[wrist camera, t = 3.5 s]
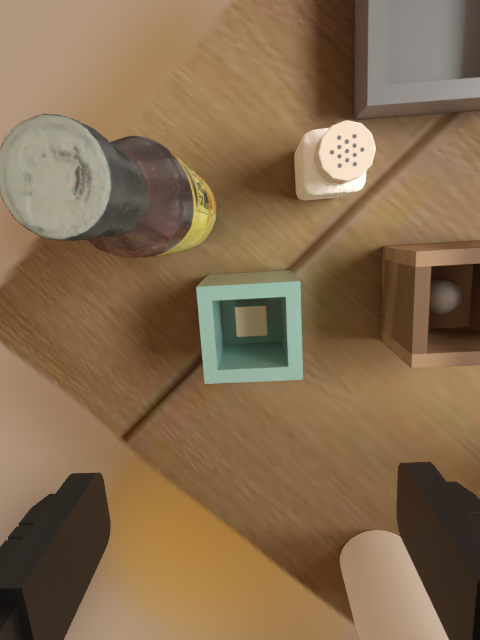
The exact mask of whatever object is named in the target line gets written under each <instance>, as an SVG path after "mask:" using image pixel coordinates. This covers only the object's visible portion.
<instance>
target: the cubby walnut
mask: <svg viewBox="0 0 480 640" xmlns="http://www.w3.org/2000/svg"><path fill="white" fill-rule="evenodd" d="M380 340H381V341H382V342H383V343H384V344H385V345H386V346H388V347H389V348H390V349H391V350H392V351H393V352H394V353H395V354H396V355H397V356H399V357H400V358H401V359H402V360H403V361H404V362H405V363H406V364H407V365H409V366H410V367H411V368H425V367H448V366H470V365H480V240H479V241H462V242H446V243H429V244H412V245H396V246H382V275H381V323H380Z"/></svg>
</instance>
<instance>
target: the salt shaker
mask: <svg viewBox="0 0 480 640" xmlns="http://www.w3.org/2000/svg"><path fill="white" fill-rule="evenodd" d="M375 150H376V147H375V144H374V140H373V136H372V133H371V132H370V131H369V130H368V129H367V128H366V127H365V126H364V125H363V124H362V123H359V122H354V121H348V120H345V121H342V122H340V123H337V124H335V125H332V126H331V127H330V128H323V129H316V130H311V131H309V132H307V133H306V134H304V136H303V138H302V140H301V142H300V143H299V145H298V147H297V149H296V152H295V155H294V163H295V185H296V195H297V197H298V199H300V200H303V201H305V200H317V199H329V198H340V197H343V196H346V195H349V194H352V193H355V192H357V191H359V190H361V189H362V188H363V186H364V184H365V182H366V170H367V169H368V168H369V167H370V166H371V165H372V162H373V158H374V154H375Z"/></svg>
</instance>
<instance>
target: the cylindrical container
mask: <svg viewBox="0 0 480 640" xmlns="http://www.w3.org/2000/svg"><path fill="white" fill-rule="evenodd" d="M340 568H341V572H342V576H343V580H344V584H345V588H346V592H347V595H348V599H349V603H350V607H351V611H352V615H353V619H354V623H355V627H356V631H357V635H358V639H359V640H449V639H448V637H447V634H446V632H445V630H444V628H443V626H442V624H441V622H440V620H439V617H438V615H437V613H436V611H435V609H434V607H433V605H432V603H431V600H430V598H429V596H428V594H427V592H426V590H425V588H424V586H423V583H422V581H421V579H420V577H419V575H418V573H417V571H416V569H415V566H414V564H413V562H412V560H411V558H410V556H409V554H408V552H407V549H406V547H405V545H404V543H403V541H402V538H401V537H399V536H398V535H396V534H394V533H392V532H388V531H384V530H371V531H366V532H362V533H360V534H358V535H356V536H354V537H353V538H351V539H350V540H349V541H348V542H347V543H346V545H345V546H344V547H343V549H342V552H341V554H340Z"/></svg>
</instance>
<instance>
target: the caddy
mask: <svg viewBox="0 0 480 640" xmlns="http://www.w3.org/2000/svg"><path fill="white" fill-rule="evenodd" d="M478 110H480V0H355V83H354V120H360V119H373V118H386V117H399V116H412V115H425V114H439V113H452V112H465V111H478Z"/></svg>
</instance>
